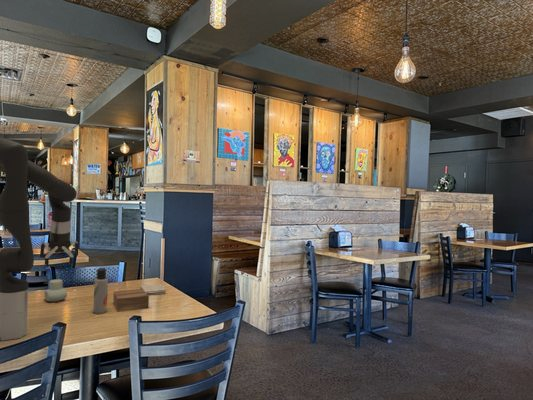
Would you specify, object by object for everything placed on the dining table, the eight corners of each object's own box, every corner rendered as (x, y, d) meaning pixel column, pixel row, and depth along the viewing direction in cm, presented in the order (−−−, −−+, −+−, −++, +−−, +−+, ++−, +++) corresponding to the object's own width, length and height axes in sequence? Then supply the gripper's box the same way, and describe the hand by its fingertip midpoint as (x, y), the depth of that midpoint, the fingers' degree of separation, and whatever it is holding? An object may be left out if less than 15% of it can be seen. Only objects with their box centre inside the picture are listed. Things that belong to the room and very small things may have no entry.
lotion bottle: (108, 310, 173) (110, 267, 173) (103, 314, 167) (105, 270, 167) (96, 309, 173) (97, 267, 172) (91, 313, 167) (92, 269, 167)
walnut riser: (148, 308, 178) (148, 295, 178) (117, 311, 171) (117, 299, 171) (142, 300, 190) (142, 289, 190) (113, 303, 183) (113, 291, 183)
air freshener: (43, 299, 186) (43, 279, 186) (61, 296, 192) (61, 277, 192) (49, 304, 179) (49, 283, 178) (67, 301, 184) (68, 281, 184)
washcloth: (144, 297, 198) (145, 291, 198) (139, 289, 214) (139, 283, 214) (167, 294, 204) (167, 289, 204) (160, 287, 220) (160, 282, 220)
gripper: (40, 233, 149) (39, 269, 153) (80, 232, 156) (77, 267, 160) (41, 226, 155) (39, 262, 159) (78, 226, 163) (76, 260, 166)
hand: (59, 264), depth 159 cm, fingers open, 8 cm apart
